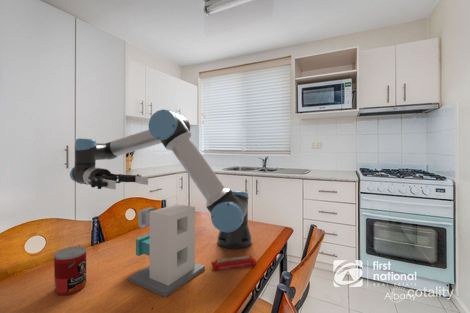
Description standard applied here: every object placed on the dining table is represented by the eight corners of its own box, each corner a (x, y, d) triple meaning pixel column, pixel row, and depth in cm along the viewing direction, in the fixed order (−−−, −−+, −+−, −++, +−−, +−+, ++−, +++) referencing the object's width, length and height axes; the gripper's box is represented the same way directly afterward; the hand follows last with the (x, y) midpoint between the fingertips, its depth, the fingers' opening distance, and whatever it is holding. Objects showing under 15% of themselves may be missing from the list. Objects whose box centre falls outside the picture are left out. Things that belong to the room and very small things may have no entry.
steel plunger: (138, 226, 81) (138, 210, 80) (151, 222, 86) (151, 207, 85) (167, 234, 74) (167, 216, 74) (179, 229, 79) (180, 212, 79)
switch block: (128, 280, 74) (128, 211, 73) (170, 258, 90) (170, 200, 89) (165, 297, 66) (165, 219, 65) (204, 269, 82) (205, 206, 81)
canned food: (71, 297, 65) (70, 258, 65) (47, 294, 67) (46, 255, 67) (92, 282, 73) (92, 247, 73) (71, 279, 75) (70, 244, 74)
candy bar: (213, 272, 80) (213, 263, 80) (211, 267, 84) (211, 259, 84) (257, 266, 85) (257, 258, 85) (253, 261, 89) (253, 253, 88)
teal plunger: (135, 255, 82) (135, 238, 81) (149, 249, 87) (149, 233, 86) (164, 265, 75) (164, 247, 75) (176, 258, 80) (177, 241, 80)
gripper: (125, 183, 108) (158, 188, 98) (63, 190, 86) (97, 199, 76) (125, 166, 108) (158, 170, 97) (64, 170, 86) (98, 175, 76)
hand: (132, 183), depth 86 cm, fingers open, 13 cm apart
